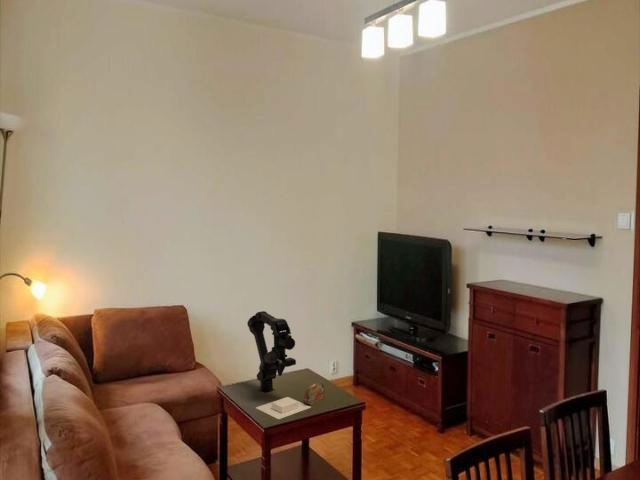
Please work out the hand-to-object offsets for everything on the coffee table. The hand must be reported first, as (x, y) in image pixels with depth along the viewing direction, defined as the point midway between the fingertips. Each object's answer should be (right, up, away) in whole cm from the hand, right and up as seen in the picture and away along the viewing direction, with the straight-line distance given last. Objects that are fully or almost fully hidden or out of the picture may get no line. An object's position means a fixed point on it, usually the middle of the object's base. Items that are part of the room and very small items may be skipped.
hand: (279, 375), depth 265 cm
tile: (+1, -11, -9) cm, 14 cm away
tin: (+17, -13, -2) cm, 21 cm away
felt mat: (+2, -13, -10) cm, 17 cm away
